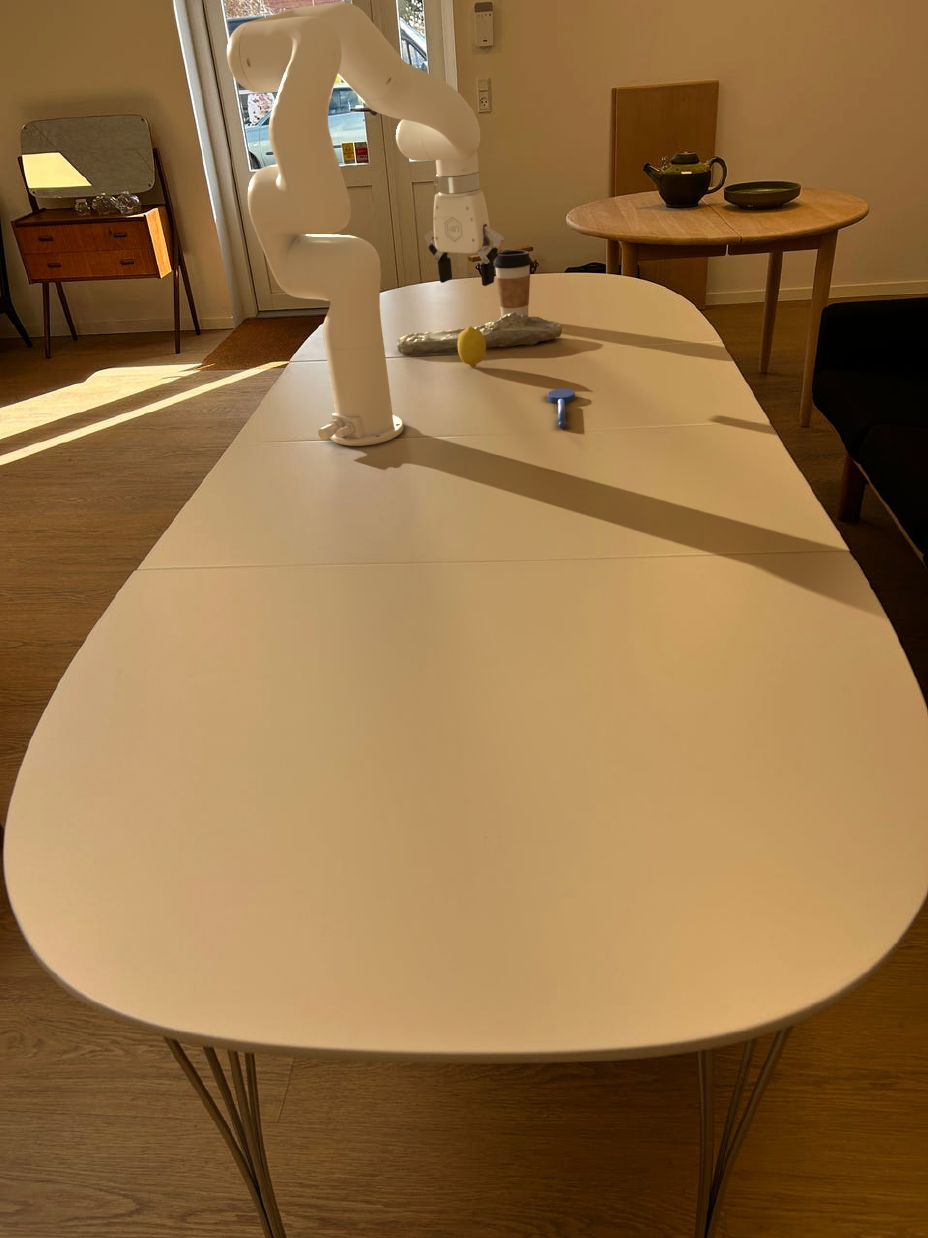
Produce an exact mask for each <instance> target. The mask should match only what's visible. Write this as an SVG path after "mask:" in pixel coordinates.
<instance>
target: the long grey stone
mask: <svg viewBox="0 0 928 1238" xmlns="http://www.w3.org/2000/svg"><path fill="white" fill-rule="evenodd" d="M467 328H468V327H463V328H457V329H455V328H454V329H449V330H439V331H427V332H417V333H414V332H412V333H407V334H406V335H403V336H402V337H400V338H398V339H397V343H396V348H397V351H398V352H399V353H400V354H401V355H403V356H405V355H411V354H417V353H420V354H424V353H450V352H458V339H459V336H460V334H461V333H462V332H463V331H464V330H465V329H467ZM474 328H475V329H477V330H479V331H480V332H481V333H482V335H483V337H484V340H485V344H486V349H487V348H493V347H494V348H495V347H499V348H501V347H502V348H505V347H508V348H509V347H514V346H517V345H526V346H534V345H536V344H538V343H539V342H544V341H549V340H552V339H556V338H559V337H561V336H562V332H563V327H562V323H559V322H557V321H553V320H548V319H544V318H541V317H539V316H532V315H531V316H529V314H528V315H526V314H525V315H522V316H521V315H517V314H516V313H515V312H514V313H509V314H507V315H505V316H503V317H502V316H500V318H498V320H491V321H488V322H487V323H485V324H482V325H480V326H475V327H474Z"/></svg>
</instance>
